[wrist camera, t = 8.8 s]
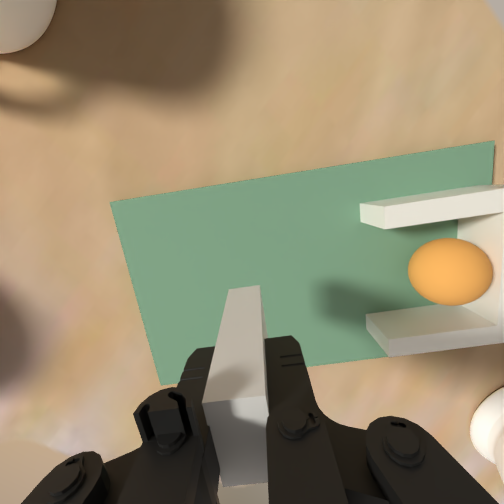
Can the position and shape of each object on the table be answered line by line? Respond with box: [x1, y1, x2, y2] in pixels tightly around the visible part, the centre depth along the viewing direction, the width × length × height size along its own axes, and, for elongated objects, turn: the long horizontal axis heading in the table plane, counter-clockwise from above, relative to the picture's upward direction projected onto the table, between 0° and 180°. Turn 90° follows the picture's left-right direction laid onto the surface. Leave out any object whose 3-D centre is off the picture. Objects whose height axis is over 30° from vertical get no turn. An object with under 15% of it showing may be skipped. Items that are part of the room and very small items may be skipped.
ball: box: [408, 238, 493, 306], centre depth 15 cm, size 4×4×4 cm
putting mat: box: [110, 141, 495, 385], centre depth 18 cm, size 14×24×1 cm, turn 99°
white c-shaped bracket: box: [360, 185, 504, 357], centre depth 16 cm, size 9×7×3 cm
